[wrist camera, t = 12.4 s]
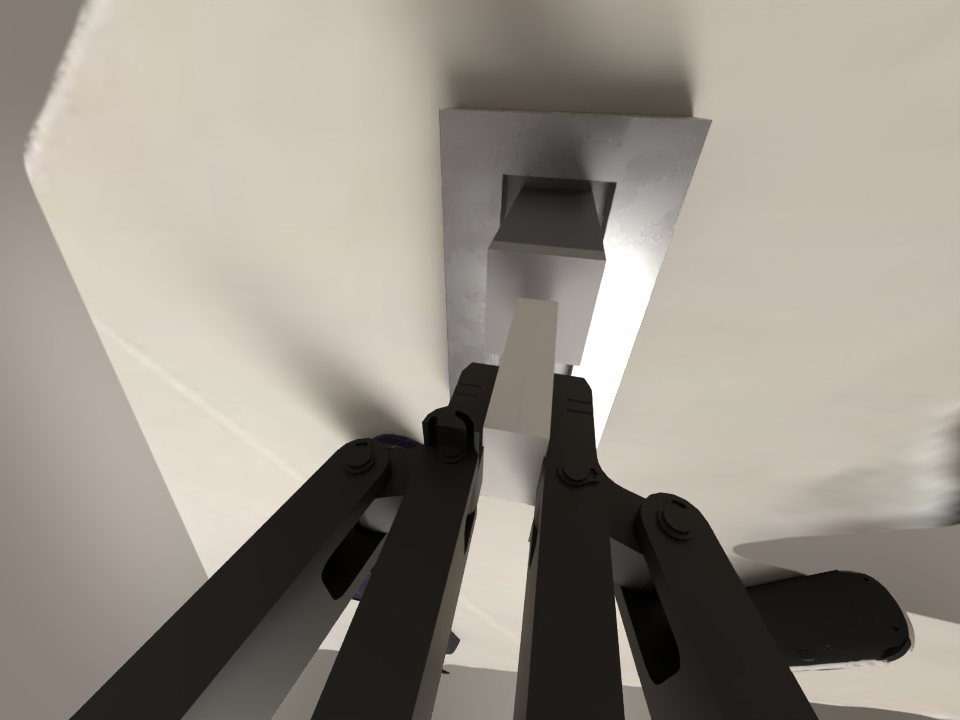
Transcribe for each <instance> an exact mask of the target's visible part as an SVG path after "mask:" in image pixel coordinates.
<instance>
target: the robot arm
mask: <svg viewBox="0 0 960 720" xmlns="http://www.w3.org/2000/svg"><path fill="white" fill-rule="evenodd" d="M557 317H558V302H554V301H546V300H537V299H529V298H520V297H518V299H517V302H516V306H515V310H514V314H513V317H512V321H511V325H510V329H509V332H508V336H507V340H506V344H505V347H504V351H503V355H502V359H501V362H500V366H495V365H489V364H482V363H475V362H472V363H471V364H469V365H468V366H467V367H466V368H465V369H464V370H463V371H462V372H461V375H460V377H459V380H458V382H457V385H456V387H455V390H454V394H453V395H452V397H451V400H450V402H449V405H448V406H446V407H443V408H439V409H436V410H434V411H433V412H431V413H429V414H428V415H427V416H426V418H425V419H424V420H423V422H422V427H423V436H424V444H422V445H420V446H417V447H413V448H407V449H397V450H387V448H386V446H385V445H384V444H383V443H381V442H380V441H379V440H375V439H371V438H363V439H356V440H354V441H351V442H349V443H346V444H345V445H344V446H342V447H341V448H340V449H338V450H337V451H336V452H335V453H334V454H333V455H332V456H331V457H330V458H329V459H328V460H327V461H326V462H325V463H324V464H323V465H322V466H321V467H320V468H319V469H318V470H317V471H316V472H315V473H314V474H313V475H312V476H311V477H310V478H309V479H308V480H307V481H306V482H305V483H304V484H303V485H302V486H301V487H300V488H299V489H298V490H297V491H296V492H295V493H294V494H293V495H292V496H291V497H290V498H289V499H288V500H287V501H286V502H285V503H284V504H283V505H282V506H281V507H280V508H279V509H278V510H277V511H276V512H275V513H274V514H273V515H272V516H271V517H270V518H269V519H268V520H267V521H266V522H265V523H264V524H263V525H262V526H261V527H260V528H259V529H258V530H257V531H256V532H255V533H254V535H253V536H252V537H251V538H250V539H249V540H248V541H247V542H246V543H245V544H244V545H243V546H242V547H241V548H240V549H239V550H238V551H237V552H236V553H235V554H234V555H233V556H232V557H231V558H230V559H229V560H228V561H227V562H226V563H225V564H224V565H223V566H222V567H221V568H220V569H219V570H218V571H217V572H216V573H215V574H214V575H213V576H212V577H211V578H210V579H209V580H208V581H207V582H206V583H205V584H204V585H203V586H202V587H201V588H200V589H199V590H198V591H197V592H196V593H195V594H194V595H193V596H192V597H191V598H190V599H189V600H188V601H187V602H186V603H185V604H184V605H183V606H182V607H181V608H180V609H179V610H178V611H177V612H176V613H175V614H174V615H173V616H172V617H171V618H170V619H169V620H168V621H167V622H166V623H165V624H164V625H163V626H162V627H161V628H160V629H159V630H158V631H157V632H156V633H155V634H154V635H153V636H152V637H151V638H150V639H149V640H148V641H147V642H146V643H145V644H144V645H143V646H142V647H141V648H140V649H139V650H138V651H137V652H136V653H135V654H134V655H133V656H132V657H131V658H130V659H129V660H128V661H127V662H126V663H125V664H124V665H123V666H122V667H121V668H120V669H119V670H118V671H117V672H116V673H115V674H114V675H113V676H112V677H111V678H110V679H109V680H108V681H107V682H106V683H105V684H104V685H103V686H102V687H101V688H100V689H99V690H98V691H97V692H96V693H95V694H94V695H93V696H92V697H91V698H90V699H89V700H88V701H87V702H86V703H85V704H84V705H83V706H82V707H81V708H80V709H79V710H78V711H77V712H76V713H75V714H74V715H73V716H72V717H71V718H70V719H69V720H270V719H271V718H272V716H273V715H274V713H275V712H276V710H277V709H278V708H279V706H280V704H281V703H282V702H283V700H284V698H285V697H286V696H287V694H288V693H289V691H290V690H291V688H292V687H293V685H294V684H295V682H296V681H297V679H298V678H299V676H300V675H301V673H302V672H303V670H304V669H305V667H306V666H307V664H308V663H309V661H310V660H311V658H312V657H313V655H314V654H315V652H316V651H317V649H318V648H319V647H320V645H321V644H322V642H323V641H324V639H325V638H326V636H327V635H328V633H329V632H330V630H331V629H332V627H333V626H334V624H335V623H336V621H337V620H338V618H339V617H340V615H341V614H342V612H343V611H344V609H345V608H346V606H347V605H348V603H349V602H350V600H351V599H352V597H353V596H354V594H355V593H356V591H357V590H358V588H359V587H360V585H361V584H362V583H363V581H364V580H365V578H366V577H367V575H368V574H369V572H370V571H371V569H372V568H373V566H374V565H375V566H374V569H373V571H372V574H371V576H370V578H369V581H368V583H367V586H366V588H365V590H364V593H363V595H362V598H361V600H360V602H359V605H358V607H357V610H356V612H355V614H354V617H353V619H352V622H351V624H350V626H349V629H348V631H347V634H346V636H345V639H344V641H343V643H342V646H341V648H340V651H339V653H338V655H337V658H336V660H335V663H334V665H333V668H332V670H331V672H330V675H329V677H328V679H327V682H326V684H325V687H324V689H323V691H322V694H321V696H320V699H319V701H318V703H317V706H316V708H315V711H314V713H313V716H312V718H311V720H431V717H432V712H433V708H434V703H435V699H436V695H437V690H438V685H439V681H440V677H441V672H442V667H443V663H444V659H445V654H446V650H447V645H448V641H449V636H450V632H451V627H452V623H453V619H454V614H455V610H456V605H457V601H458V596H459V592H460V587H461V583H462V578H463V574H464V569H465V565H466V560H467V556H468V551H469V547H470V543H471V538H472V534H473V529H474V525H475V520H476V516H477V503H478V498H479V494H480V495H484V496H489V497H493V498H498V499H503V500H508V501H513V502H518V503H523V504H528V505H533V506H535V512H534V519H533V523H532V528H531V532H530V537H529V541H528V542H530V549H529V560H528V570H527V581H526V591H525V601H524V612H523V622H522V633H521V643H520V653H519V664H518V674H517V686H516V696H515V705H514V716H513V720H625V717H624V704H623V693H622V680H621V668H620V656H619V644H618V631H617V619H616V607H615V597H616V601H617V604H618V608H619V611H620V614H621V618H622V621H623V625H624V628H625V631H626V635H627V638H628V641H629V645H630V648H631V652H632V655H633V658H634V662H635V665H636V669H637V672H638V675H639V679H640V682H641V685H642V689H643V692H644V696H645V699H646V702H647V706H648V709H649V712H650V716H651V719H652V720H819V719H818V718H817V716H816V714H815V712H814V710H813V709H812V707H811V705H810V703H809V701H808V700H807V698H806V696H805V694H804V692H803V691H802V689H801V687H800V685H799V684H798V682H797V680H796V678H795V676H794V675H793V673H792V671H791V669H790V668H789V666H788V664H787V662H786V660H785V659H784V657H783V655H782V653H781V652H780V650H779V648H778V646H777V644H776V643H775V641H774V639H773V637H772V636H771V634H770V632H769V630H768V628H767V627H766V625H765V623H764V621H763V619H762V618H761V616H760V614H759V612H758V611H757V609H756V607H755V605H754V603H753V602H752V600H751V598H750V596H749V595H748V593H747V591H746V589H745V587H744V586H743V584H742V582H741V580H740V579H739V577H738V575H737V573H736V571H735V570H734V568H733V566H732V564H731V563H730V561H729V559H728V557H727V555H726V554H725V552H724V550H723V548H722V546H721V545H720V543H719V541H718V539H717V538H716V536H715V534H714V532H713V530H712V529H711V527H710V525H709V523H708V522H707V520H706V519H705V518H704V516H703V515H702V514H701V512H700V511H699V510H698V509H697V508H696V507H694V506H693V505H692V504H690V503H689V502H688V501H687V500H685V499H682V498H680V497H678V496H676V495H674V494H668V493H661V492H660V493H656V494H651V495H649V496H648V497H647V498H646V499H645V498H643V497H641V496H639V495H637V494H635V493H633V492H631V491H628V490H626V489H624V488H623V487H621V486H619V485H617V484H616V483H614V482H613V481H612V480H611V479H610V478H608V477H607V475H606V474H605V473H604V472H603V470H602V469H601V467H600V465H599V463H598V459H597V452H596V438H595V423H594V416H593V415H594V409H593V394H592V389H591V387H590V386H589V384H588V382H587V381H586V379H585V378H584V377H577V376H570V375H563V374H557V373H554V364H555V348H556V333H557ZM375 563H376V564H375ZM614 594H615V595H614Z"/></svg>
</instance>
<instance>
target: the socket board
mask: <svg viewBox="0 0 960 720" xmlns="http://www.w3.org/2000/svg"><path fill="white" fill-rule="evenodd" d="M439 120H440V146H441V173H442V199H443V226H444V252H445V279H446V306H447V332H448V359H449V385H450V400H451V397H452V395H453V394H454V390H455V387H456V385H457V382H458V380H459V377H460V375H461V372H462V371H463V370H464V369H465V368H466V367H467V366H468V365H469V364H471V363H472V362H475V363H482V364H489V365H495V366H500V362H501V359H502V355H498V354H491V353H484V333H485V306H486V280H487V254H488V248H489V246H490V244H491V242H492V240H493V239H494V237H495V235H496V233H497V231H498V230H499V228H500V226H501V224H502V222H503V220H504V219H505V217H506V215H507V213H508V211H509V210H510V208H511V206H512V204H513V202H514V201H515V199H516V197H517V195H518V193H519V192H520V190H521V188H522V186H523V187H538V188H552V189H566V190H580V191H593V196H594V201H595V206H596V211H597V216H598V220H599V225H600V230H601V235H602V240H603V245H604V250H605V255H606V260H607V262H606V265H605V269H604V273H603V277H602V281H601V285H600V289H599V293H598V297H597V301H596V305H595V309H594V313H593V317H592V321H591V325H590V329H589V333H588V337H587V341H586V345H585V349H584V353H583V357H582V361H581V365H580V366H574V365H567V364H560V363H555V364H554V373H557V374H563V375H570V376H577V377H584V378H585V379H586V381H587V382H588V384H589V386H590V387H591V389H592V394H593V409H594V415H593V416H594V423H595V438H596V449H597V446H598V443H599V440H600V437H601V434H602V432H603V429H604V426H605V423H606V420H607V417H608V415H609V412H610V409H611V406H612V403H613V400H614V397H615V395H616V392H617V389H618V386H619V383H620V380H621V378H622V375H623V372H624V369H625V366H626V363H627V361H628V358H629V355H630V352H631V349H632V346H633V344H634V341H635V338H636V335H637V332H638V329H639V327H640V324H641V321H642V318H643V315H644V312H645V310H646V307H647V304H648V301H649V298H650V295H651V293H652V290H653V287H654V284H655V281H656V278H657V275H658V273H659V270H660V267H661V264H662V261H663V258H664V256H665V253H666V250H667V247H668V244H669V241H670V239H671V236H672V233H673V230H674V227H675V224H676V222H677V219H678V216H679V213H680V210H681V207H682V205H683V202H684V199H685V196H686V193H687V190H688V188H689V185H690V182H691V179H692V176H693V173H694V171H695V168H696V165H697V162H698V159H699V156H700V153H701V151H702V148H703V145H704V142H705V139H706V136H707V134H708V131H709V128H710V125H711V122H712V120H709V119H703V118H698V117H688V116H661V115H635V114H609V113H583V112H556V111H530V110H504V109H478V108H448V109H439Z"/></svg>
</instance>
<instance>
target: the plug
mask: <svg viewBox="0 0 960 720" xmlns="http://www.w3.org/2000/svg"><path fill="white" fill-rule="evenodd" d="M606 262H607V260H606V255H605V250H604V245H603V240H602V235H601V230H600V225H599V220H598V216H597V211H596V206H595V201H594V196H593V191H580V190H566V189H552V188H538V187H523V186H522V188H521V190H520V192H519V193H518V195H517V197H516V199H515V201H514V202H513V204H512V206H511V208H510V210H509V211H508V213H507V215H506V217H505V219H504V220H503V222H502V224H501V226H500V228H499V230H498V231H497V233H496V235H495V237H494V239H493V240H492V242H491V244H490V246H489V248H488V254H487V280H486V306H485V333H484V353H491V354H498V355H503V351H504V347H505V344H506V340H507V336H508V332H509V329H510V325H511V321H512V317H513V314H514V310H515V306H516V302H517V299H518V297H520V298H529V299H537V300H546V301H554V302H558V317H557V333H556V348H555V363H560V364H567V365H574V366H580V365H581V361H582V357H583V353H584V349H585V345H586V341H587V337H588V333H589V329H590V325H591V321H592V317H593V313H594V309H595V305H596V301H597V297H598V293H599V289H600V285H601V281H602V277H603V273H604V269H605V265H606Z"/></svg>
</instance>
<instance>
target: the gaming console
mask: <svg viewBox="0 0 960 720" xmlns="http://www.w3.org/2000/svg"><path fill="white" fill-rule="evenodd" d="M746 591H747V593H748V595H749V596H750V598H751V600H752V602H753V603H754V605H755V607H756V609H757V611H758V612H759V614H760V616H761V618H762V619H763V621H764V623H765V625H766V627H767V628H768V630H769V632H770V634H771V636H772V637H773V639H774V641H775V643H776V644H777V646H778V648H779V650H780V652H781V653H782V655H783V657H784V659H785V660H786V662H787V664H788V666H789V668H790V669H791V671H792V672H803V671H819V670H834V669H848V668H860V667H872V666H882V665H889V664H890V662H891V661H894V660H896V659H898V658H900V657H902V656H903V655H905V654H906V653H909V652H912V650H913V648H914V644H915V635H914V630H913V627H912V624H911V622H910V619H909V617H908V615H907V613H906V612H905V610H904V608H903V607H902V605H901V604H900V603H899V601H898V600H897V599H896V598H895V596H894V595H893V594H892V593H891V592H890V591H889V590H888V589H887V588H885V587H884V586H883V585H882V584H881V583H879V582H878V581H876V580H875V579H874V578H872V577H870V576H868V575H866V574H862V573H859V572H854V571H838V570H834V571H829V572H824V573H819V574H814V575H809V576H804V577H799V578H794V579H789V580H785V581H780V582H775V583H770V584H766V585H761V586H757V587H752V588H748V589H746Z"/></svg>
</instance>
